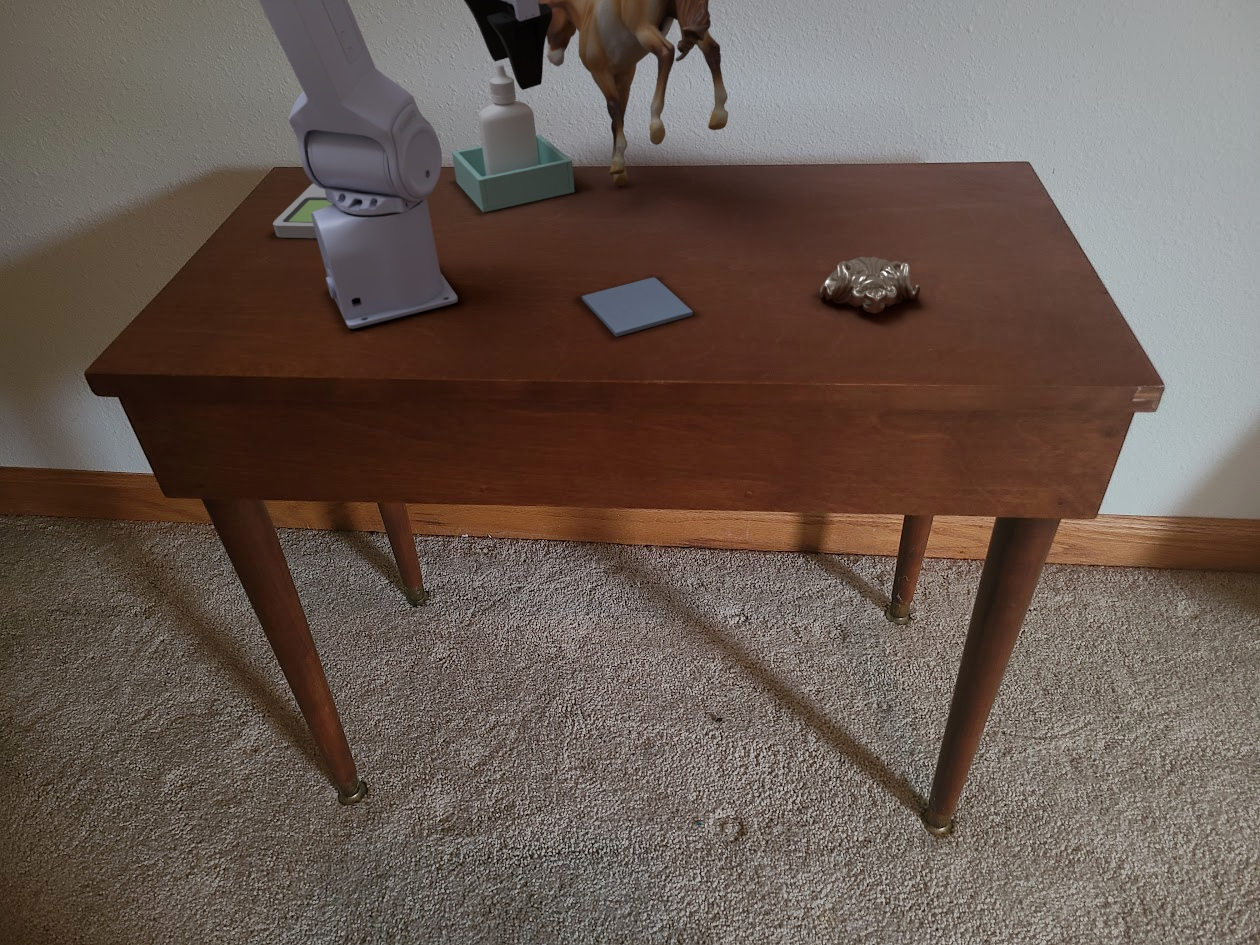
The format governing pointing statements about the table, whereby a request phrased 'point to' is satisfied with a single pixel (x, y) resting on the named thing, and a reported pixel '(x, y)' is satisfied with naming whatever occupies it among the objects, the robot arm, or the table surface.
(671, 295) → the pad
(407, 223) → the robot arm
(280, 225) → the handheld gaming console
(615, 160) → the horse figurine
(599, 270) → the table surface
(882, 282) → the ornament
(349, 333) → the table surface
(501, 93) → the eye dropper bottle
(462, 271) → the table surface
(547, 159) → the box
